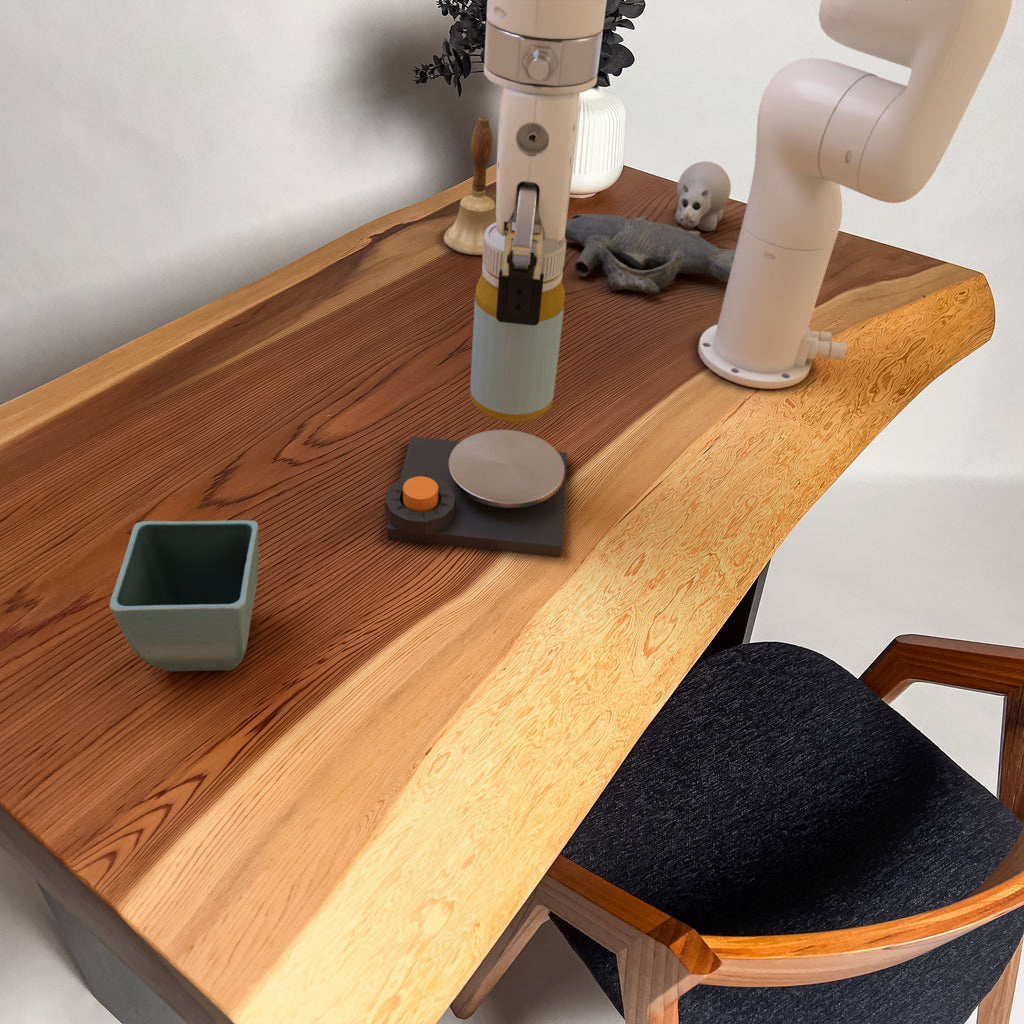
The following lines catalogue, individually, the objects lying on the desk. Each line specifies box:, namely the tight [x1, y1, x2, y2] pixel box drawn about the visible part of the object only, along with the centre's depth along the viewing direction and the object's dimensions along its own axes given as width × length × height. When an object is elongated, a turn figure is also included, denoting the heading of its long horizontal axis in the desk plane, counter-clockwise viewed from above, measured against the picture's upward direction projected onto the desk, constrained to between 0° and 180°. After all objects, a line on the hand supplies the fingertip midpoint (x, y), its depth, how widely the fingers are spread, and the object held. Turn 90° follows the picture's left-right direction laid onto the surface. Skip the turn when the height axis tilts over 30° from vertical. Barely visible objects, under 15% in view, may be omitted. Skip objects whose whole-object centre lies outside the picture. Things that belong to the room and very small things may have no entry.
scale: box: [384, 436, 568, 558], centre depth 86 cm, size 16×13×3 cm
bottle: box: [469, 221, 567, 424], centre depth 76 cm, size 7×7×15 cm
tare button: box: [403, 476, 438, 512], centre depth 82 cm, size 3×3×2 cm
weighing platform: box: [448, 429, 565, 508], centre depth 86 cm, size 10×10×1 cm
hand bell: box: [443, 115, 496, 256], centre depth 120 cm, size 8×8×16 cm
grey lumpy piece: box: [565, 213, 736, 296], centre depth 121 cm, size 5×25×15 cm
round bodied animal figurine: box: [674, 160, 732, 232], centre depth 130 cm, size 7×12×8 cm, turn 155°
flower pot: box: [109, 519, 259, 673], centre depth 70 cm, size 9×9×9 cm
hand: (521, 294), depth 75 cm, fingers closed on bottle, 7 cm apart
